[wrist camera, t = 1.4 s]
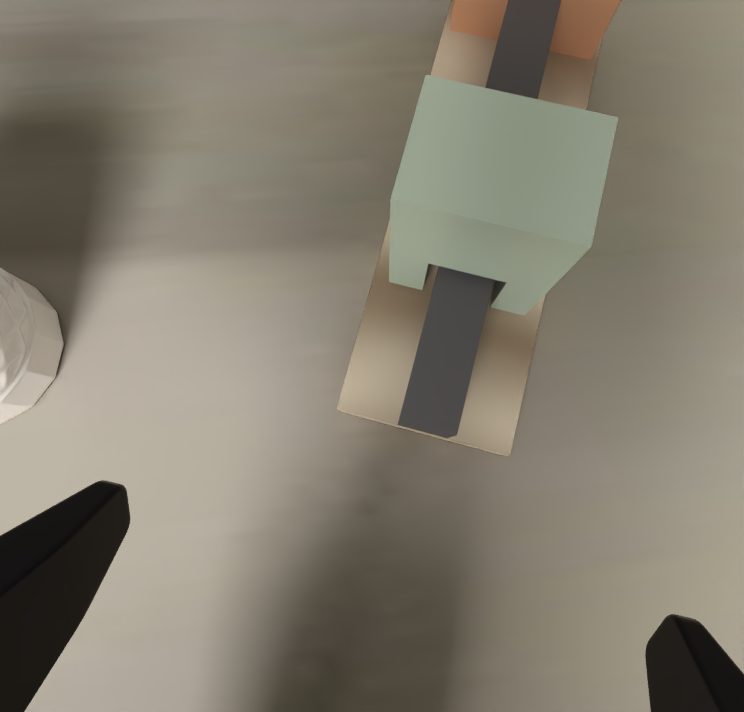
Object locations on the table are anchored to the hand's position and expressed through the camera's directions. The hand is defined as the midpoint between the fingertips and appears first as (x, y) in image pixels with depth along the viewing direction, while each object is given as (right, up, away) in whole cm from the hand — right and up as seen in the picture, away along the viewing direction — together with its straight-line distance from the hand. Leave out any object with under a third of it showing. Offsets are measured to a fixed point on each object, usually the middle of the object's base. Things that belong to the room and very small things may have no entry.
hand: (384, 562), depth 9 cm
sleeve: (+4, +8, +13) cm, 16 cm away
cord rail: (+4, +10, +14) cm, 18 cm away
